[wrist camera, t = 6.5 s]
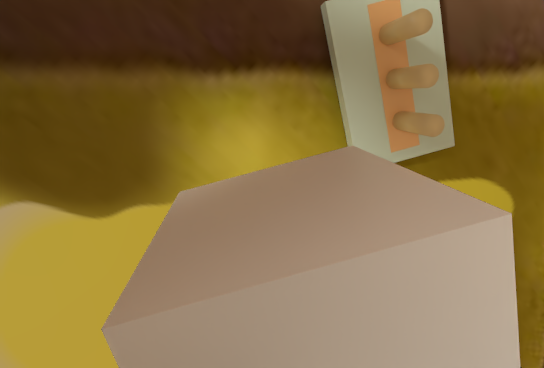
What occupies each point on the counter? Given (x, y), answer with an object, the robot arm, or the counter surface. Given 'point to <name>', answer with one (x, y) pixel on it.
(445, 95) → the header block
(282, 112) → the counter surface
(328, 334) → the white rectangular block
